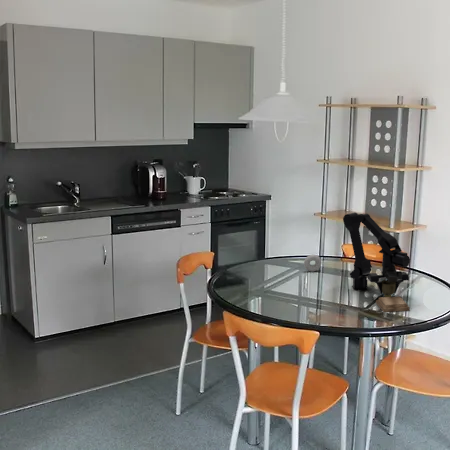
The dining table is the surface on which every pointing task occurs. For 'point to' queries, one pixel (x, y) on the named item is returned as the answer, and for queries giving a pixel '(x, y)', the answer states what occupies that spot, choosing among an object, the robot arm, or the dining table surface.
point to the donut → (309, 259)
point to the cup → (388, 288)
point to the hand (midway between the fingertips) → (387, 293)
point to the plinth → (392, 304)
